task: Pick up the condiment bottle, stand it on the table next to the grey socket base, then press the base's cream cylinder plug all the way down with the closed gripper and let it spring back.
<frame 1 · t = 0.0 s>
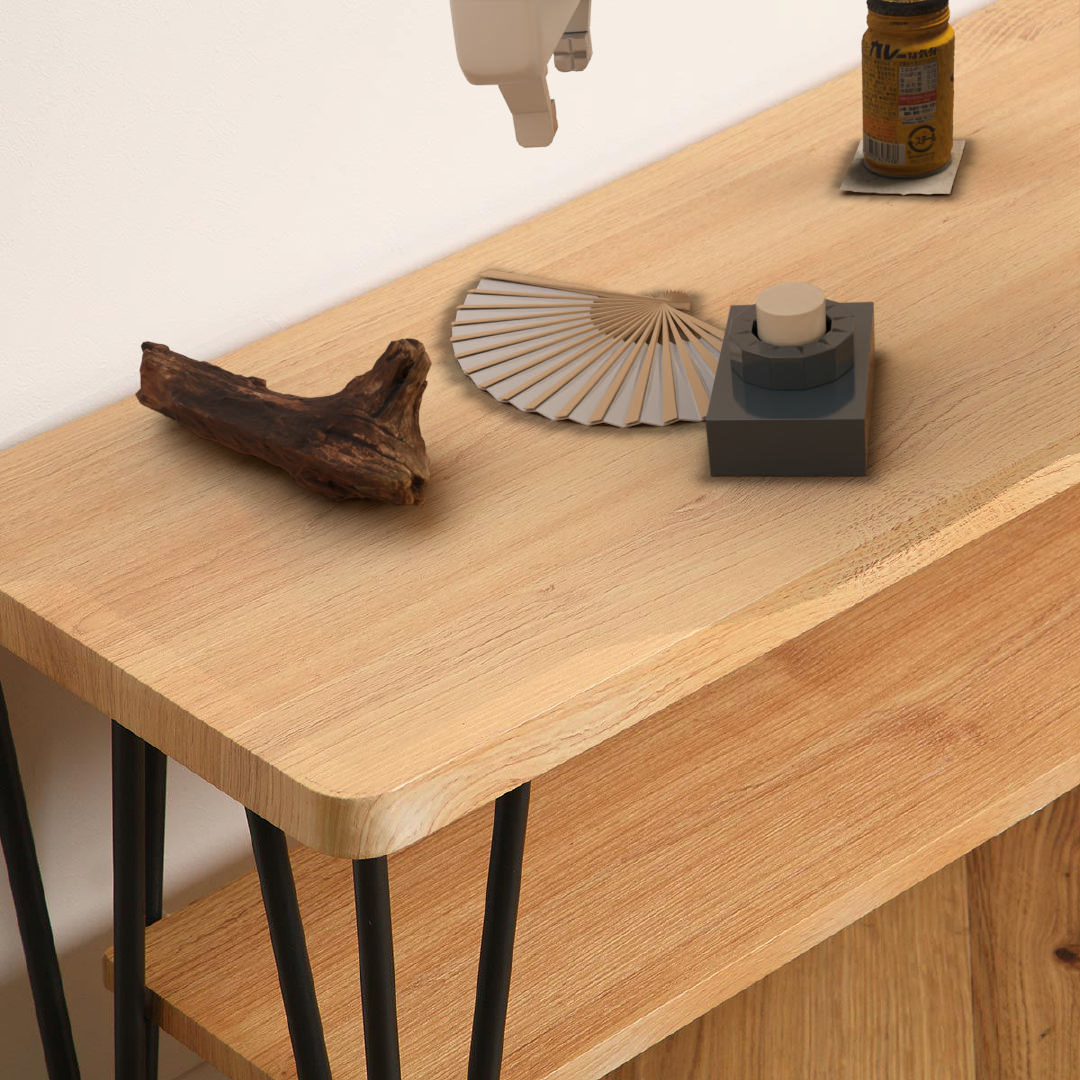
hand: (557, 102, 81), 18 cm above the table, tool pointing down, fingers open, 8 cm apart
grey socket base: (796, 413, 89), on the table
hand fan: (603, 356, 97), on the table, touching grey socket base
cream cylinder plug: (790, 314, 85), point 6 cm above the table, slide at 0.1 cm
driftwood: (305, 460, 92), on the table
condiment: (903, 171, 112), on the table
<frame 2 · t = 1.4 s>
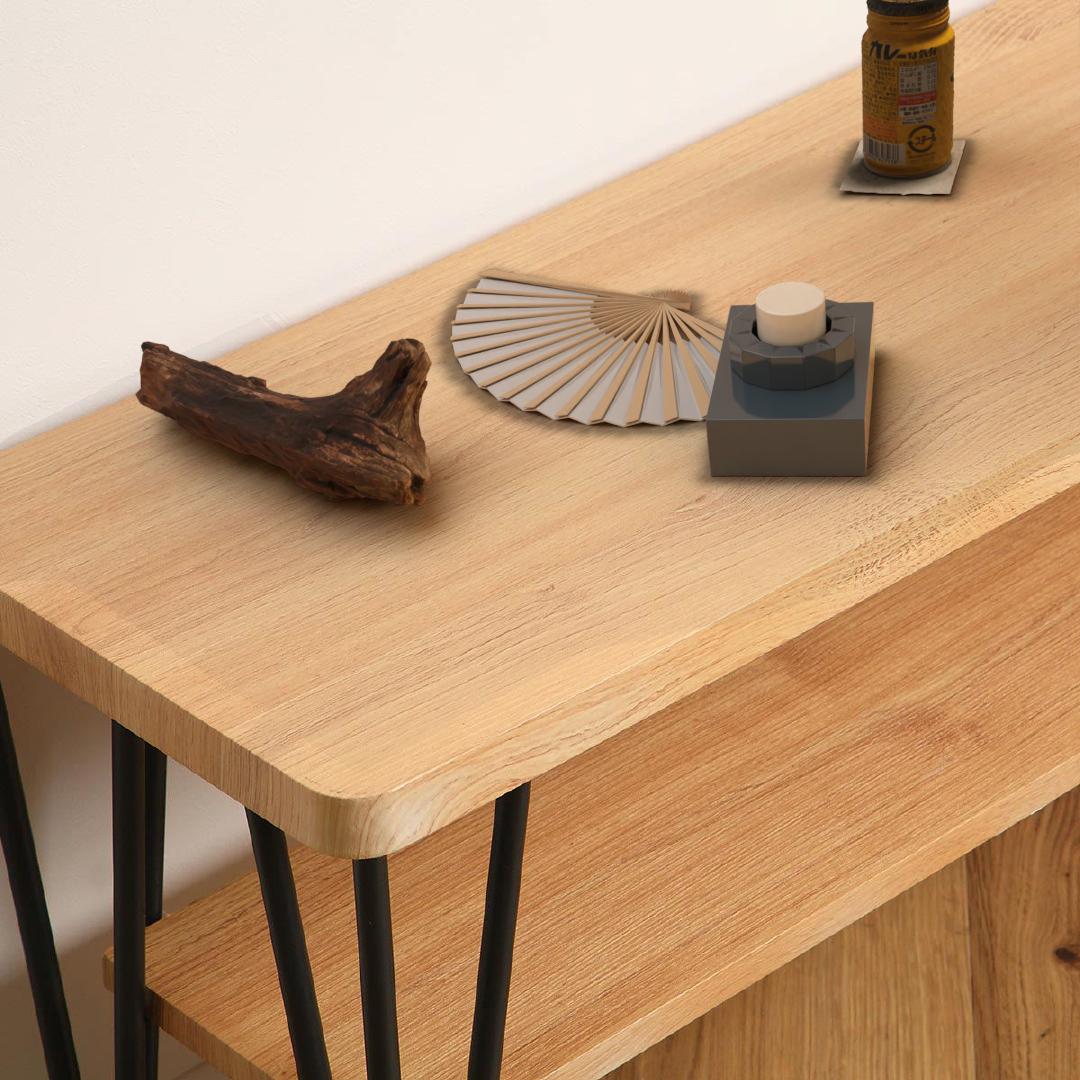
nothing on the table moved.
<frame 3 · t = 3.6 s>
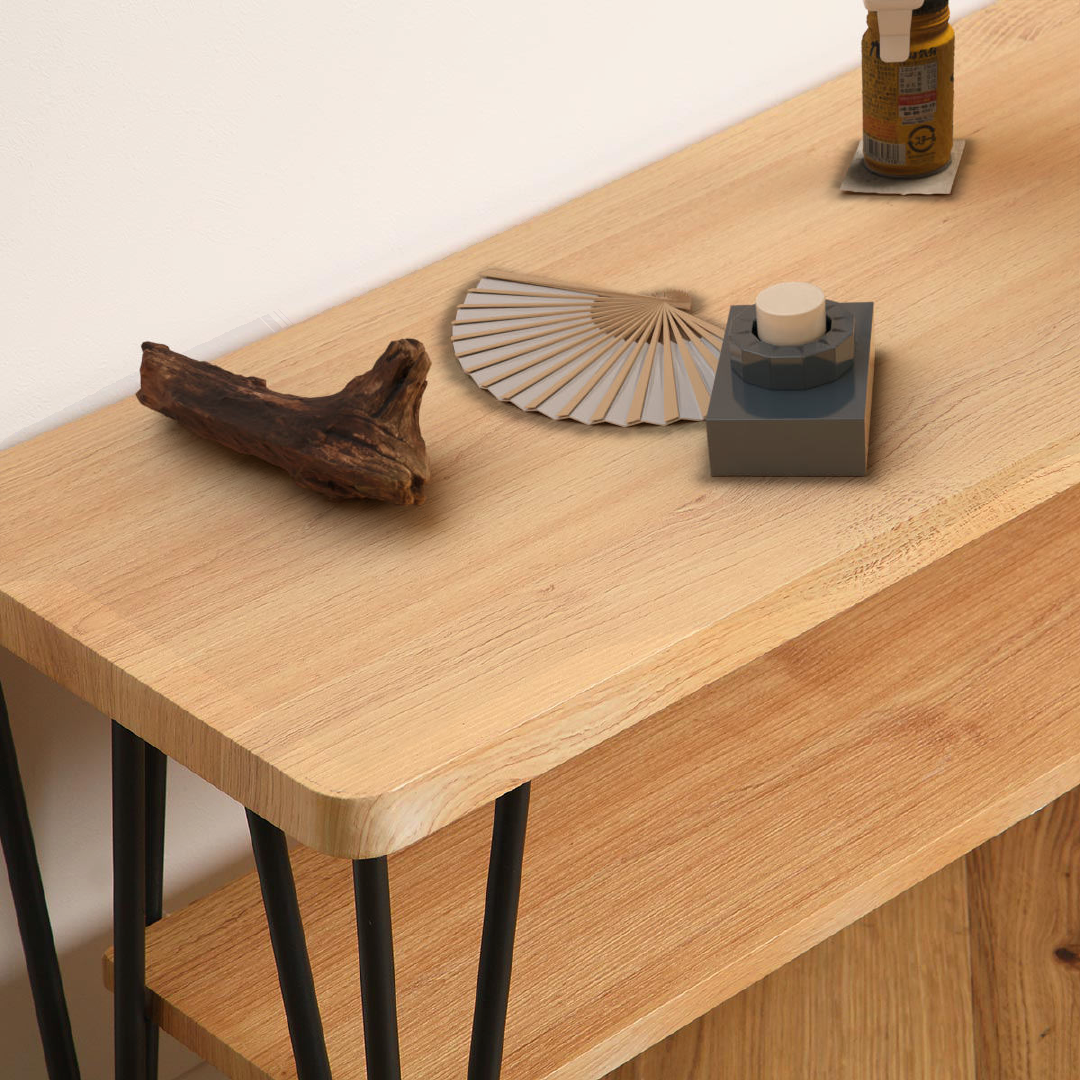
hand: (896, 30, 106), 10 cm above the table, tool pointing down, fingers open, 8 cm apart
nothing on the table moved.
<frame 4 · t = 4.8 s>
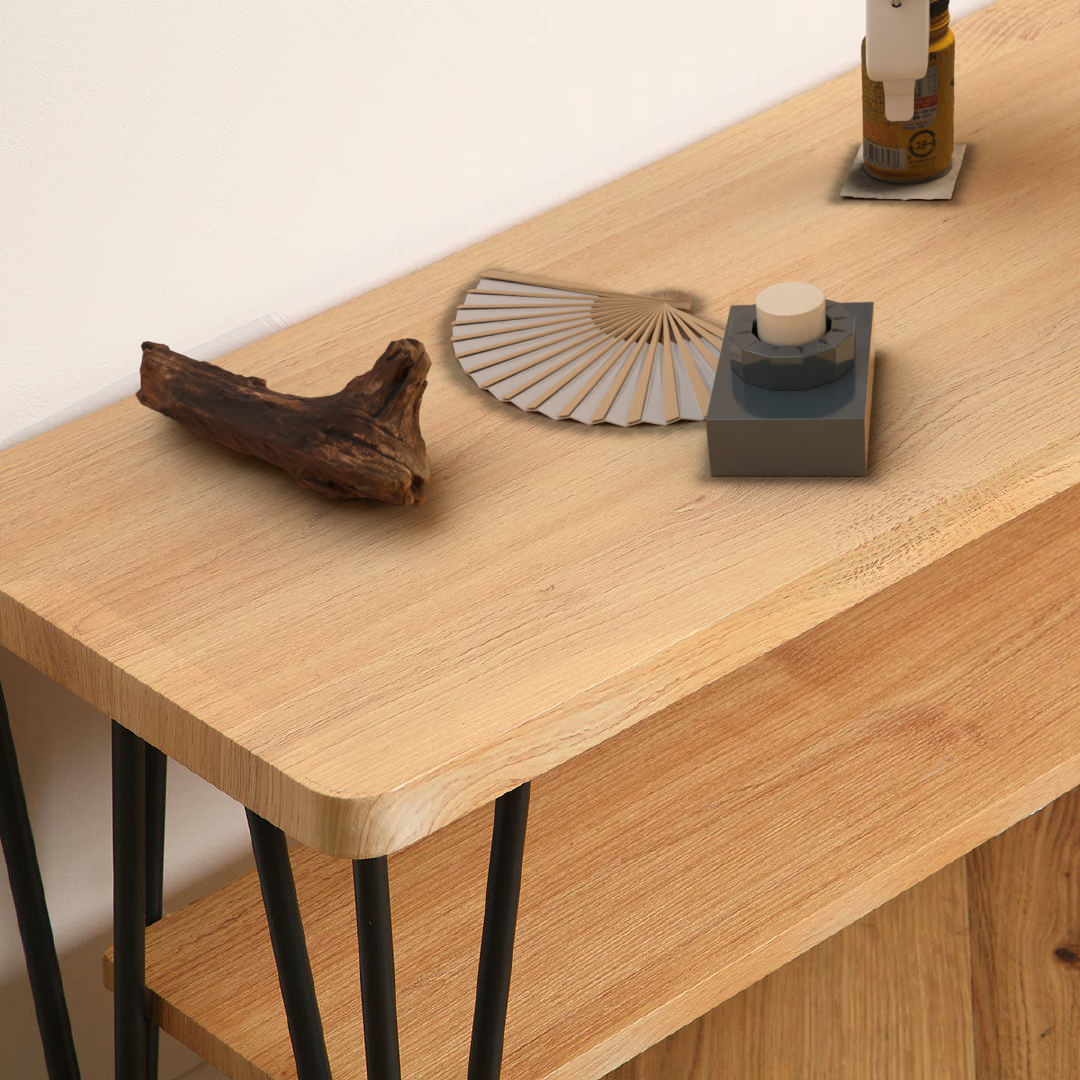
hand: (901, 94, 109), 5 cm above the table, tool pointing down, fingers closed on condiment, 6 cm apart
condiment: (904, 175, 111), on the table, touching gripper
everything else where it was.
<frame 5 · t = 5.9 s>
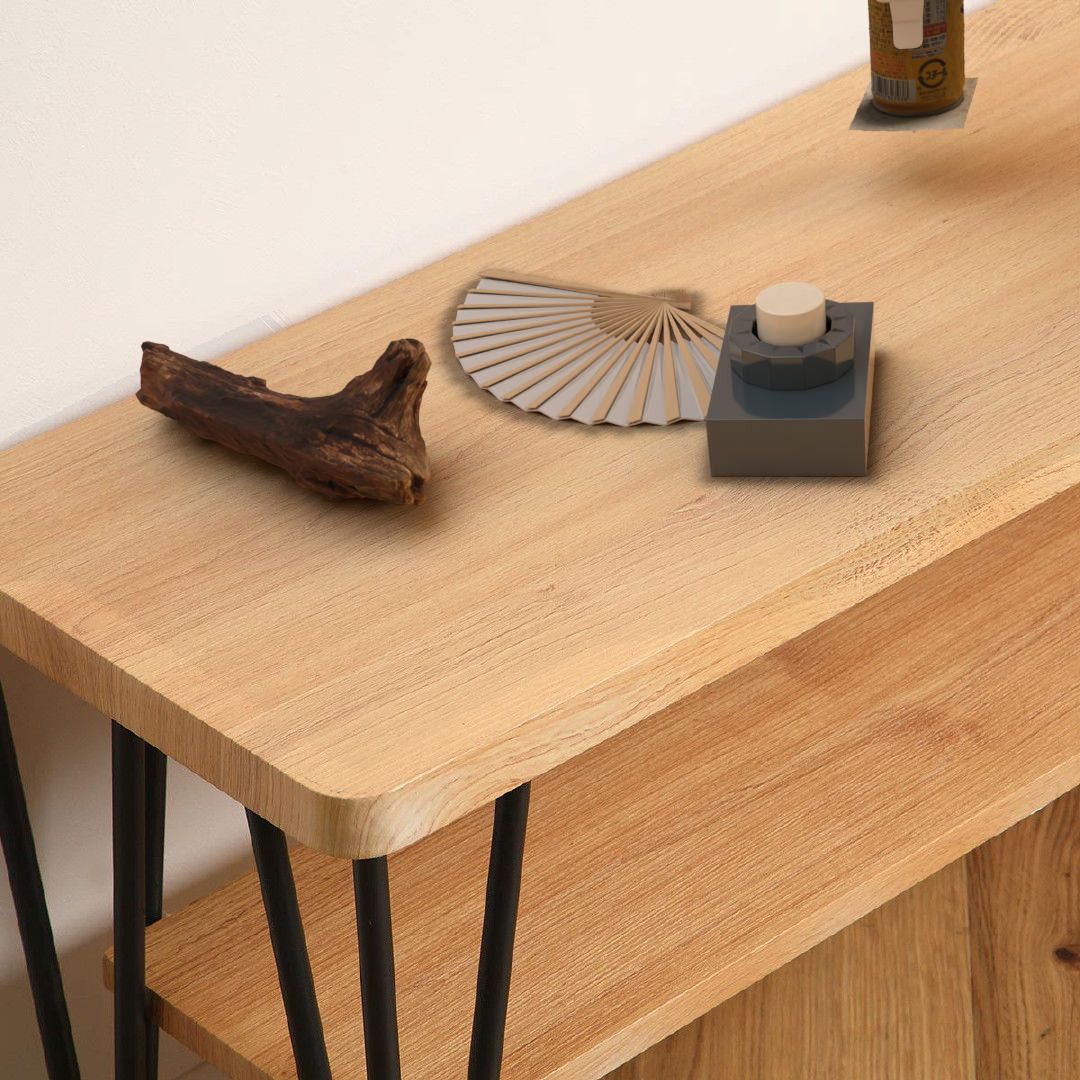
hand: (909, 24, 105), 10 cm above the table, tool pointing down, fingers closed on condiment, 6 cm apart
condiment: (914, 110, 108), point 5 cm above the table, touching gripper
everything else where it was.
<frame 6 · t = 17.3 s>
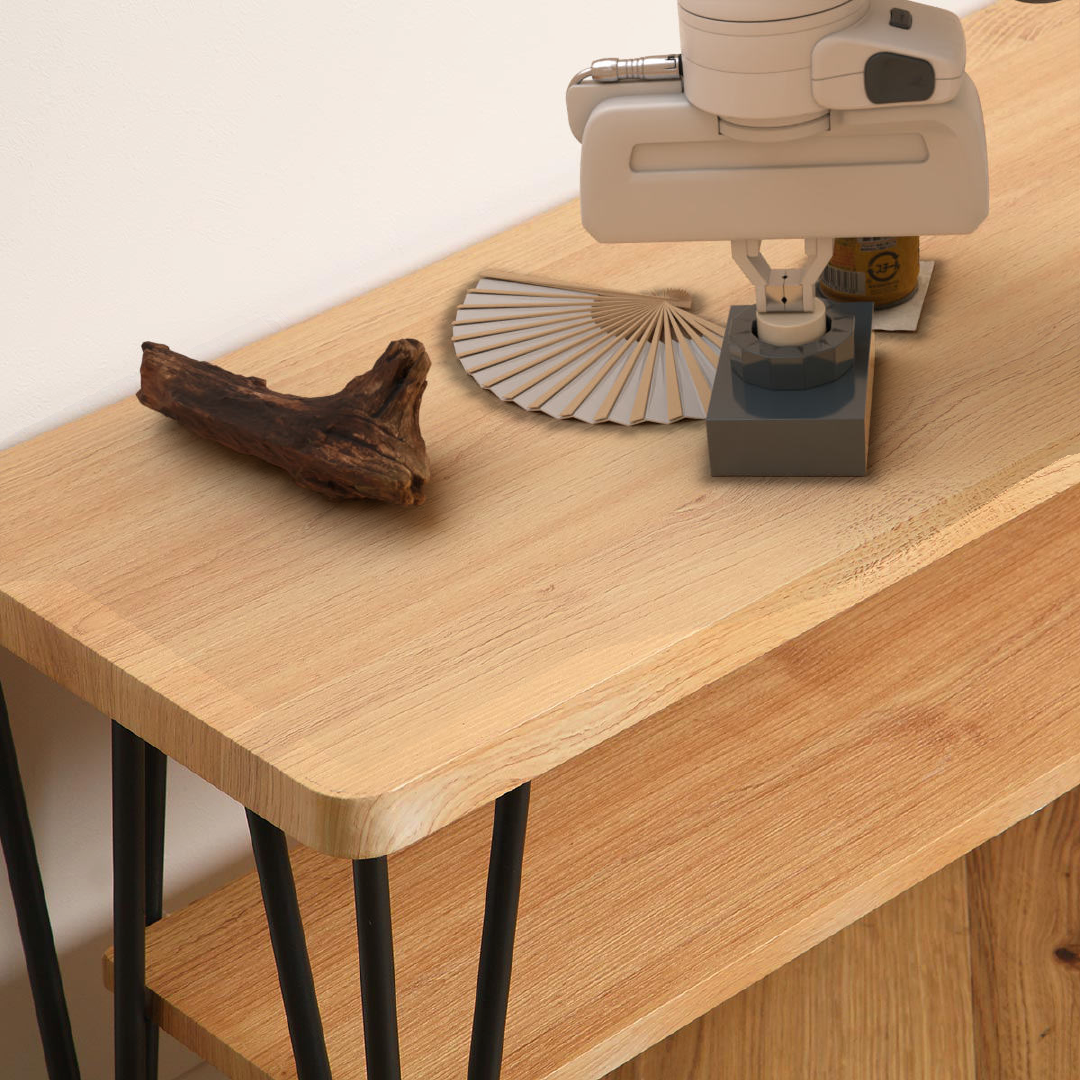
hand: (786, 307, 85), 7 cm above the table, tool pointing down, fingers closed, pressing on cream cylinder plug
cream cylinder plug: (791, 326, 86), point 5 cm above the table, slide at -0.6 cm, touching gripper
condiment: (864, 298, 98), on the table
everything else where it was.
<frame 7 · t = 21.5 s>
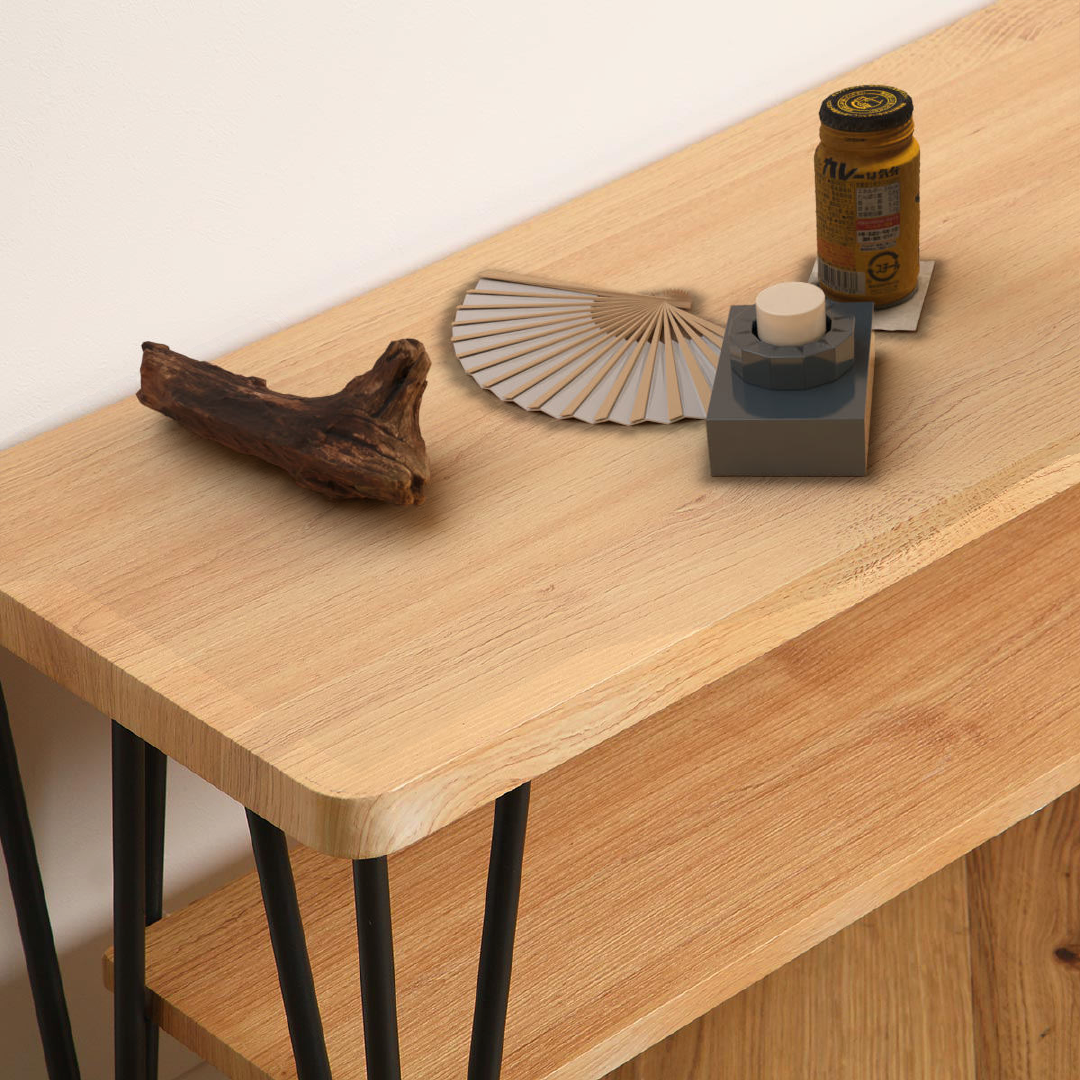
cream cylinder plug: (790, 314, 85), point 6 cm above the table, slide at 0.1 cm
everything else where it was.
at the end: condiment inside the target area (0.9 cm from its centre), on the table; cream cylinder plug pushed in 1.3 cm at the most during the clip, back to where it started at the end; cream cylinder plug slide at 0.1 cm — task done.
